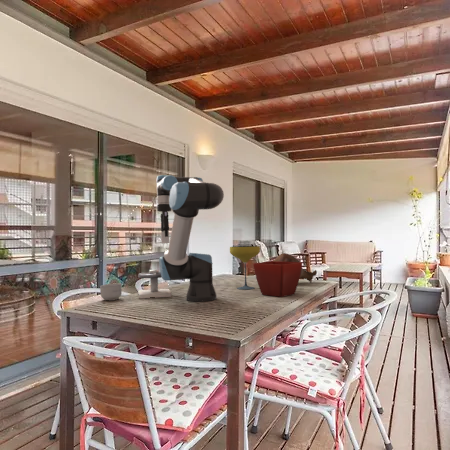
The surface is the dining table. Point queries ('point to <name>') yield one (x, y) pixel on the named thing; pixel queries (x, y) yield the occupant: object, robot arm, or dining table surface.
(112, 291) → the teacup
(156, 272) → the handwheel
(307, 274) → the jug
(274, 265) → the plant pot
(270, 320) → the dining table surface
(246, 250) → the cocktail glass
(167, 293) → the wheel stand
